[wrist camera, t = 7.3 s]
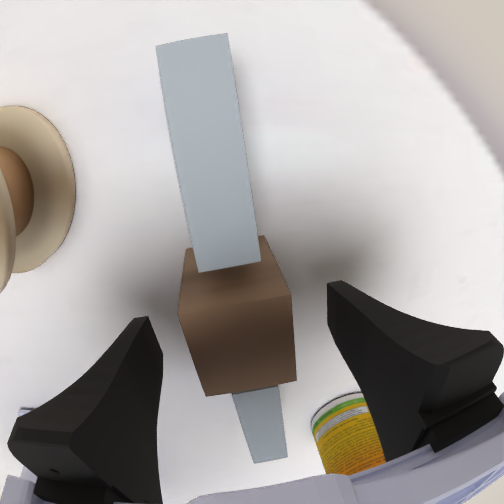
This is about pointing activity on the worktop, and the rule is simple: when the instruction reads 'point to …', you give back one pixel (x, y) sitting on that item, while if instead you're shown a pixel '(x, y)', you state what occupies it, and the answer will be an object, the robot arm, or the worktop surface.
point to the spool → (32, 191)
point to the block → (238, 324)
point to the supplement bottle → (347, 436)
